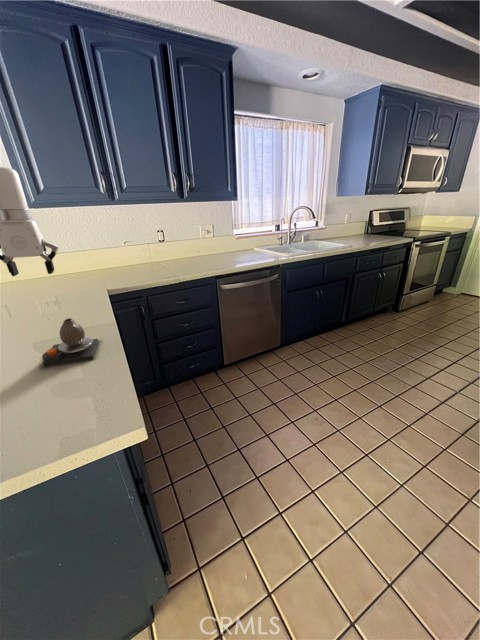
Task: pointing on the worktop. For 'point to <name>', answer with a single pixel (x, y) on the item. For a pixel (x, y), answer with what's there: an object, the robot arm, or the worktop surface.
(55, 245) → the robot arm
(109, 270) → the worktop surface
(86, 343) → the pan
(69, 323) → the vase
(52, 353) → the tare button
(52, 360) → the scale
